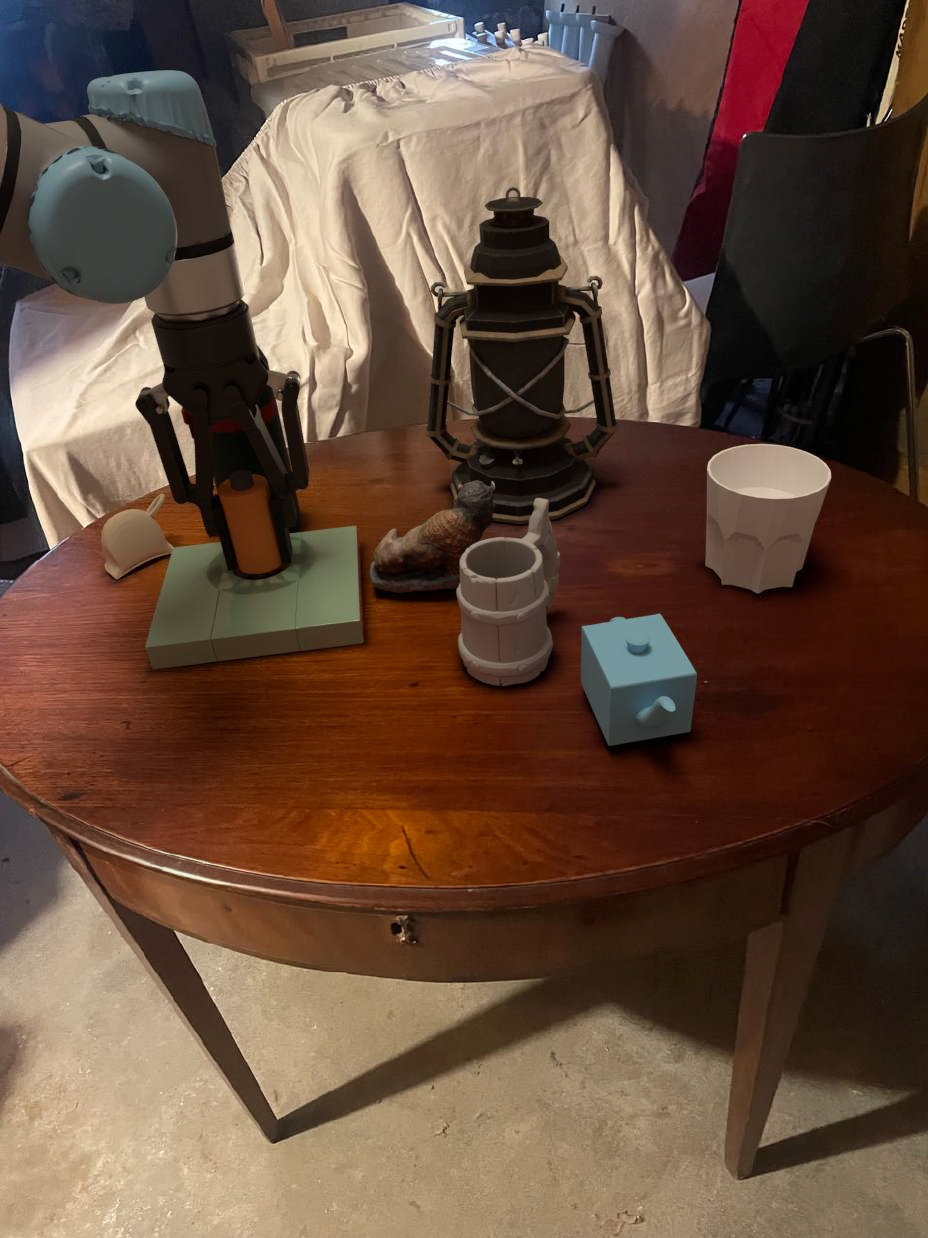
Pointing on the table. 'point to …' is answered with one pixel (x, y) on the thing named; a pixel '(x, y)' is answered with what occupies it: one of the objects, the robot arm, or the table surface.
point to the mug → (509, 603)
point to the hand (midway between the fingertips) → (260, 558)
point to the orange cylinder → (250, 522)
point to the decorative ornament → (133, 539)
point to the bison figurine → (434, 544)
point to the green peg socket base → (258, 603)
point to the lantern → (520, 368)
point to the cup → (762, 513)
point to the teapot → (637, 679)
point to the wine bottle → (247, 444)
